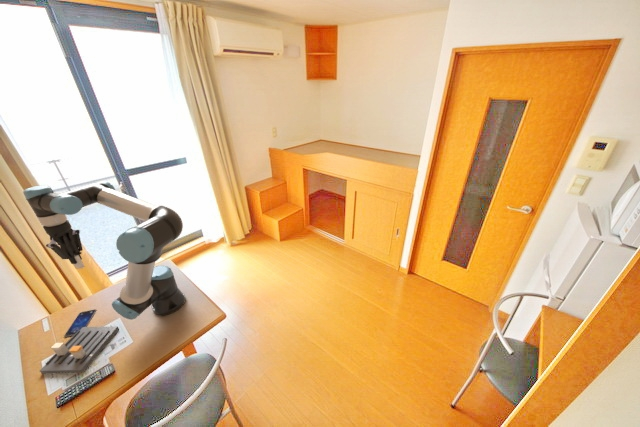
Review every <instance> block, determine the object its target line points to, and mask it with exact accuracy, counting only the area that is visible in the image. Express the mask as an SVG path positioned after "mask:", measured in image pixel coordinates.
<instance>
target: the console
mask: <svg viewBox="0 0 640 427" xmlns="http://www.w3.org/2000/svg"><path fill="white" fill-rule="evenodd" d="M118 331H119V327H118V326H87V327H82V328H81V329H80V330H79V331H77V332H76V333H75V334H74V335H73V336H71V338H70V337H69V339H68V341H66V342H64V344H65V346H66V347H67V349H68V350H70V349H71V348H72V347H73V346H82V347H83V349H84V351H85V352H86V355H85V356H84V357H83V358H79V359H75V358H74V356H73V355H72V354H71V353H70V352H69V351H68V352H67V354H66V355H58V356H57V354H56V353H55V354H53V355H52V356H51V358H49V359H48V360H47V361H46V362H45V364H44V366H42V368H41V369H39V372H40V373H41V374H42V375H43V374H44V375H45V374H46V373H56V374H83V373H84V372H85V371H86V369H87V368H89V366H90V365H91V364H92V362H94V361H95V359H96V358H97V357H98V355H99V354H100V353H101V352H102V350H103V349H104V348H105V347H106V346H107V345H108V343H109V342H110V341H111V340H112V339H113V337H114V336H115V335H116V334H117V333H118ZM46 375H47V374H46Z"/></svg>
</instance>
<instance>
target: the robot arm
mask: <svg viewBox="0 0 640 427" xmlns="http://www.w3.org/2000/svg"><path fill="white" fill-rule="evenodd" d="M22 193H23V195H24V197H25V201H27V203H28V204H29V206H30V208H31V210H32V211H33V212H34V215H35V216H36V217H37V219H38V221H39V222H40V224H41V226H42V228H43V230H44V231H45V233H46V234H47V235H48V236H49V240H50V241H49V243H46V245H45V246H46V248H49V249H51V250H52V251H53V252H54V253H55V254H56V255H57V256H58V257H60V259H62V260H68V261H69V262H70V264H72V265H73V267H74V268H75V269H79V270H80V269H83V268H85V267H86V266H85V265H84V262H83V261H82V259H83V258H82V256H81V255H82V251H83V245H82V241H81V237H80V232H81V230H80V229H73V228H72V225H71V223H70V221H69V220H68V218H67V215H68V216H71V215H76V214H78V213H79V212H80V211H81V210H82V209H83V208H84V207H85V208H86V207H87V206H91V205H94V204H96V203H97V204H100V205H103V206H105V207H108V208H110V209H113V210H115V211H117V212H121V213H123V214H125V215H128V216H129V217H133V218H135V219H138V220H140V221H143V222H141V223H139V224H136V225H135V226H133V227H130V228H128V229H127V230H125V231H123V232H122V233H121V234H119V235H118V237H117V238H116V242H115V243H116V246H115V247H116V250H117V251H118V253H119V255H120V257H122V258H123V259H124V260H125V261H126V262H128V264H127V270H126V271H127V272H126V280H125V285H124V286H123V287H122V288H121V289H120V292H119V297H117V298H115V299H114V301H112V303H111V308H113V310H114V311H115V312H116V313H117V314H118V315H120V316H121V317H123V318H124V319H127V320H132V321H133V320H135V319H136V318H138V317H139V316H141V314H143V312H145V310H147V309H148V308H150V306H151V310H152V312H153V314H154V315H156V316H168V315H170V314H174V313H175V312H176V311H179V309H182V307H183V306H184V304H185V303H184V301H185V302H186V296H185V293H184V292H183V291H181V289H180V288H179V287H178V284H177V282H176V279H175V276H174V272H173V270H172V268H171V267H170V266H167V265H158V266H156V262H158V260H160V258H161V256H162V254H163V249H164V248H165V247H166V246H168V245H169V244H171V243H173V242H174V241H175V240H176V239H178V237H180V235H181V234H182V231H183V228H184V226H183V225H184V224H183V220H182V218H181V216H180V215H179V213H177V212H176V211H174V210H173V209H172V208H170V207H168V206H164V205H158V206H157V205H155V204H152V203H149V202H148V201H144V200H142V199H139V198H136V197H134V196H131V195H128V194H125V193H123V192H120V191H117V190H116V188H115V187H114V185H113V184H111V183H110V182H109V181H106V180H102V181H99V182H93V183H91V184H89V185H86V186H82V187H79V188H75V189H71V190H68V191H64V192H62V193H56V192H55V191H54V190H53V189H52V187H51V186H49V185H46V184H45V185H36V186H32V187H29V188H25V189H24V190H23V192H22ZM183 303H184V304H183ZM182 305H183V306H182ZM181 306H182V307H181Z"/></svg>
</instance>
